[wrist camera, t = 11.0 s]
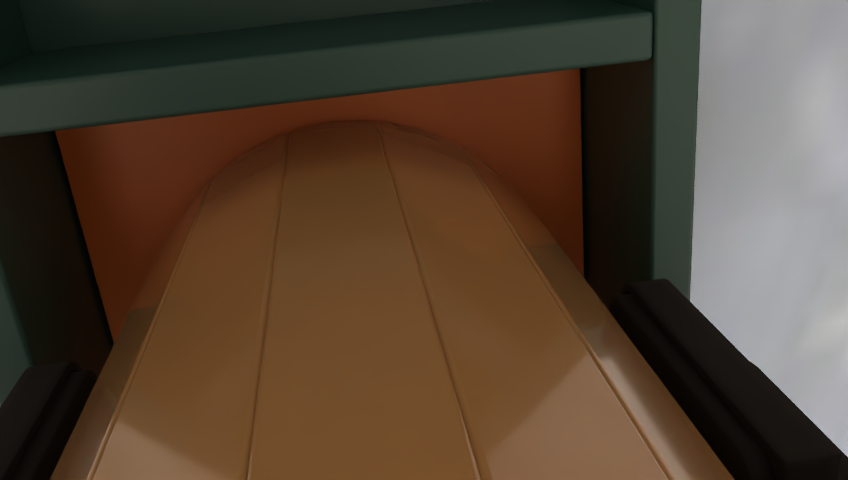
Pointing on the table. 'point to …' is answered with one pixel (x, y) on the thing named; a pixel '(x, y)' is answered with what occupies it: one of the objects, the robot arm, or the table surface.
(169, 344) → the wooden cup
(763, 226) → the table surface
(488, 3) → the divided tray
